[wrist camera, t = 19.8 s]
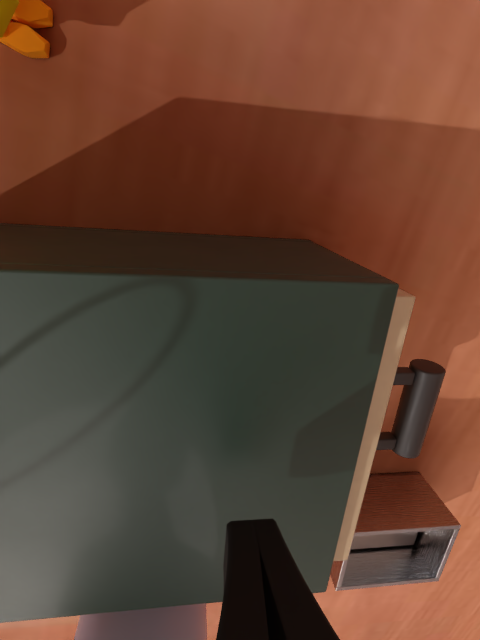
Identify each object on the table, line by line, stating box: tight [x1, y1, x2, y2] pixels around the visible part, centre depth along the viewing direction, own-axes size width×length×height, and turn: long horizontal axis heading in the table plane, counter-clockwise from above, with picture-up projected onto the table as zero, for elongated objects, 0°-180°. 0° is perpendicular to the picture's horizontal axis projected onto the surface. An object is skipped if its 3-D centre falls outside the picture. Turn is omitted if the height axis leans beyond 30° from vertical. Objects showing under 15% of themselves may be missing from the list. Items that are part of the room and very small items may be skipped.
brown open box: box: [330, 472, 461, 591], centre depth 23 cm, size 5×7×4 cm
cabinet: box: [0, 223, 399, 623], centre depth 15 cm, size 16×13×8 cm
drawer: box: [333, 288, 445, 561], centre depth 16 cm, size 19×12×7 cm, turn 86°
